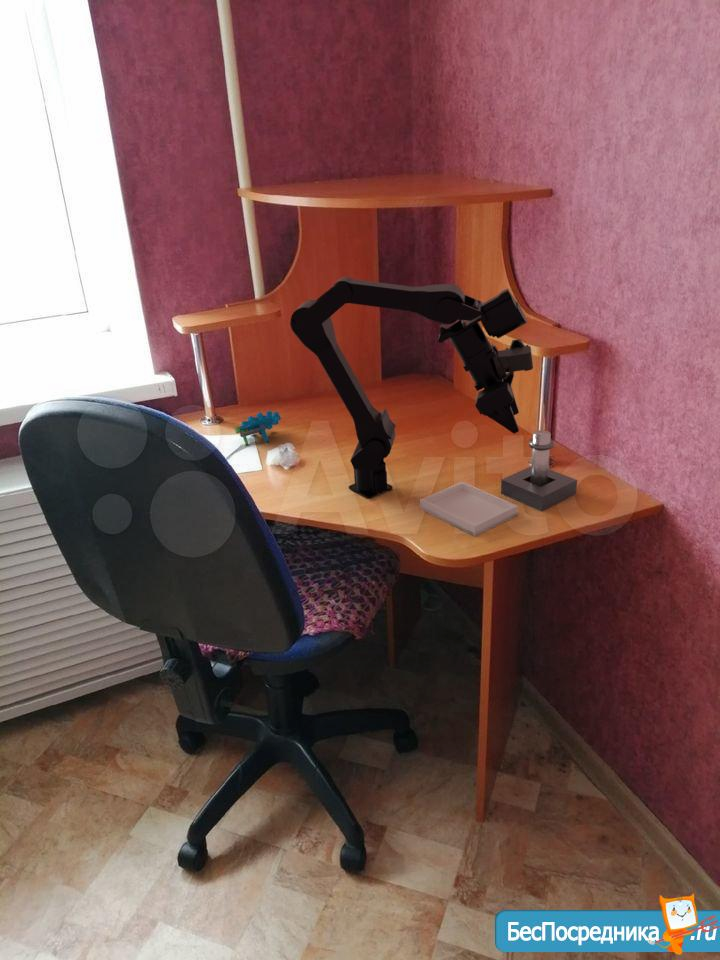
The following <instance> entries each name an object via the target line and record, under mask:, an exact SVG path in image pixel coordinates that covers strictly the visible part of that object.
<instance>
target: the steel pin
mask: <svg viewBox="0 0 720 960" xmlns="http://www.w3.org/2000/svg"><path fill="white" fill-rule="evenodd" d="M551 436H552V433H551V432H550V431H547V430H541V429H540V430H535V431H533V432H532V438H530V439H529V441H528V446H529V448H531V461H530V467H531V480H530V483H532V484H534V485H537V486H539V487H542V486H544V485H546V484H548V469H550V467H549V465H550V452H551V451H550V450H551V449H553V448H554V440H553V439H552V437H551Z"/></svg>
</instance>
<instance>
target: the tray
mask: <svg viewBox="0 0 720 960" xmlns="http://www.w3.org/2000/svg"><path fill="white" fill-rule="evenodd" d="M419 502H420V503H419V507H420V510H422V511H424V512H426V513H428V514H430V515H431V516H433V517H436V518H437V519H439V520H442V521H443V522H445V523H447V524H450V525H451V526H453V527H455V528H457V529H459V530H461V531H463V532H465V533H467V534H469V535H471V536H473V537H476V536H477V537H478V535H481V534H483V533H484V532H488V531H490V530H491V529H493V528H496V527H497V526H499V525H501V524H503V523H505V522H507V521H509V520H511V519H513V518H516V517H517V516H518V505H517V504H514V503H512V502H510V501H508V500H505V499H502V498H500V497H498V496H496V495H494V494H491V493H490V492H487V491H485V490H482V489H480V488H478V487H475V486H473V485H471V484H469V483H467V482H464V481H460V482H458V483H455V484H454V485H451V486H448V487H446V488H443V489H441V490H439V491H437V492H434V493H433V494H430V495H428V496H425V497H423V498H420V501H419Z"/></svg>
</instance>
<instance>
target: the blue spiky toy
mask: <svg viewBox="0 0 720 960" xmlns="http://www.w3.org/2000/svg"><path fill="white" fill-rule="evenodd" d="M255 415H256V416H255V417H254V416H253V415H250V416H248V417H247V418H246V419H247V420H242V421H241V425H239V426H238V425H237V426H235V427H234V430H235V434H239V435H240V437H241V438H242V439H243V441H244V444H245V445H246V444H248V443H249V440H248V438H247V437H248V436H251V435H254V434H261V436H262V438H263V441H264V443H265V442H266V443H269V442H270V440H269V437H268V435H267V432H266V430H268V431H269V430H271V429H273V426H276V425H279V424H280V423H279V421H280V420H282V418H281V415H280V413H279V412H278V411H273V412H272V410H267V411H266V412H265V415H263V412H258V413H256V414H255ZM248 445H249V444H248Z"/></svg>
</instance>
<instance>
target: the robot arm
mask: <svg viewBox="0 0 720 960" xmlns="http://www.w3.org/2000/svg"><path fill="white" fill-rule="evenodd" d="M346 304H351V305H353V304H354V305H361V306H367V307H375V308H384V309H388V310H389V309H390V310H398V311H404V312H405V311H406V312H410V313H413V314H417V315H419V316H421V317H423V318H425V319H426V320H427V319H428V320H430V321H434V322H437V323H439V324H441V325H440V327H439V335H438V339H437V343H438V344H441V343H443V342H445V341H447V340H448V339H450V342H451V344H452V346H453V347H454V349H455V351H456V352H457V353H458V356H459V357H460V360H461V361H462V363H463V369H464V371H465V372H468V373H469V375H470V377H471V378H472V380H473V382H474V388H475V390H476V391H477V395H476V399H475V408H476V410H477V411H478V413H479V414H480V415H483V416H484V417H485V416H486V417H488V418H489V419H491V420H493V421H494V422H496V423H497V424H499V425H500V426H502V427H504V428H505V429H506V430H507V431H509V432H511V433H512V434H517V433H518V432H519V431H520V429H519V426H518V423H517V420H516V418H515V416H516V415H518V414H519V407H518V405H517V401H516V397H515V394H514V391H513V386H512V383H513V380H514V377H515V376H514V375H515V372H520V371H524V372H527V371H528V372H529V371H531V370H533V369H534V364H533V363H534V362H533V355H532V354H533V353H532V347H531V346H530V345H529V344H524V343H523V341H522V340H521V338H517V339H512V340H511V343H510V346H509V348H508V347H506V348H505V349H501V350H499V349H498V348H497V346H496V345H494V344H493V343H492V344H491V342H490V341H489V339H488V337H487V335H488V336H489V337H492V338H495V337H496V338H497V339H500V338H502V337H504V336H506V335H508V334H510V333H511V332H513V331H515V330H517V329H519V328H520V327H522V326H524V325H526V324H528V320H527V317H526V314H525V313H524V310H523V309H522V306H521V305H520V303H519V301H517V300H516V299H515V297H514V296H513V294H512V292H511V291H510V290H509V288H505V289H504V290H502V291H500V292H499V293H498V294H497V295H495V296H494V297H492V298H489V299H488V300H487V301H485V302H482V300H479V299H477V298H474V297H472V296H469V295H467V294H465V293H464V290H463V289H462V288H461V287H460V286H458V285H456V284H452V283H443V284H439V283H437V284H430V285H424V286H422V285H421V286H411V285H401V284H394V283H386V282H385V283H384V282H380V281H379V282H378V281H369V280H362V279H355V278H352V277H350V276H343V277H341V278H339V279H338V280H336V282H335V283H334V284H333V286H332V287H330V288H329V289H327V290H326V291H325V292H324V293H322V294H321V295H320V296H319V297H318V298H317V299H309V300H306V301H304V302H303V303H301V304H300V305H299V306H298V307H297V309H296V310H295V311H294V312H293V313H292V315H291V317H290V322H289V324H290V325H289V326H290V329H291V331H292V332H293V334H294V335H295V336H296V337H297V339H299V340H298V341H300V342H301V343H302V345H303V346H304V347H305V348H307V350H309V351H310V352H312V353H313V354H314V355H315V356H316V357H317V359H318V361H319V362H320V364H321V366H322V368H323V369H324V371H325V373H326V375H327V376H328V378H329V379H330V381H331V383H332V385H333V386H334V389H335V390H336V392H337V393H338V396H339V397H340V399H341V401H342V403H343V404H344V407H345V408H346V409H347V412H348V413H349V415H350V416H351V418H352V421H353V424H354V428H355V434H356V438H357V440H358V442H357V444H356V447H355V449H354V451H353V454H352V456H351V457H350V464H351V465H352V468H353V475H354V483H353V484H350V485H348V489H349V490H351V491H353V492H354V493H357V494H358V495H361V496H362V497H364V498H366V499H372V498H374V497H376V496H378V495H381V494H384V493H386V492H389V491H390V490H393V487H394V486H393V485H391V484H389V483H388V472H387V467H386V466H387V464H386V462H385V459H386V458H387V457H388V456H389V455H390V453H391V451H392V448H393V445H394V443H395V442H394V441H395V439H396V430H395V429H396V426H397V425H396V424H395V423H394V422H393V420H392V419H391V417H390V416H389V413H388V412H389V411H388V410H387V409H383V410H382V411H381V412H380V411H379V410H378V409H376V408H375V407H374V406H373V405H372V402H371V401H370V399H369V397H368V396H367V394H366V392H365V390H364V389H363V387H362V384H361V383H360V381H359V380H358V378H357V376H356V373H354V370H353V369H352V368H351V365H350V363H349V362H348V360H347V358H346V357H345V355H344V353H343V351H342V349H341V347H340V345H339V344H338V342H337V338H336V332H335V329H334V328H335V327H334V323H333V321H332V318H331V317H332V316H333V315H334V314H335V313H336V312H337V311H338V310H340V309H341V308H342V307H343V306H345V305H346ZM479 322H480V323H481V324H480V323H479ZM481 325H482V326H483V328H484V330H485V331H484V330H483V328H482V326H481ZM485 332H486V333H487V335H486V333H485Z"/></svg>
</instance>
